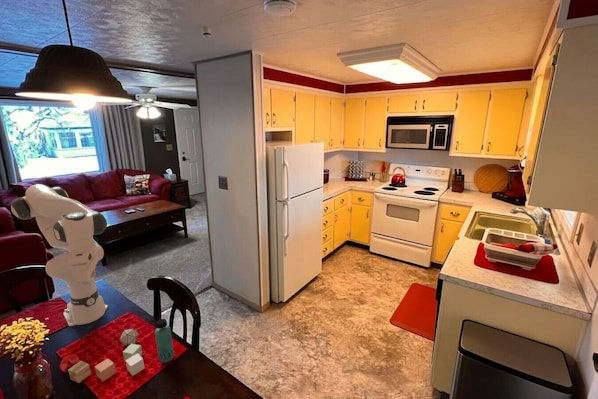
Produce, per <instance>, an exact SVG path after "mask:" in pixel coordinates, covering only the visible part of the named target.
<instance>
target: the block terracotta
mask: <svg viewBox="0 0 598 399" xmlns="http://www.w3.org/2000/svg"><path fill="white" fill-rule="evenodd" d="M94 369H95V375H96V376H97V377H98V379H99V380H101V381H102V382H104V381H106V380H107V379H109V378H110V377H112V376H114V375H115V374H116V373H117V372H116V367H115V363H114V362H113V361H112V360H110V359H109V358H105V359H104V360H103V361H101V362H100V363H97V365H95V366H94Z"/></svg>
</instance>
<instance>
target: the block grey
mask: <svg viewBox="0 0 598 399" xmlns="http://www.w3.org/2000/svg"><path fill="white" fill-rule="evenodd" d="M125 364H126V370H127V371H128V372H129V374H130V375H131V377H133V376H134V375H137V374H138V373H140V372H141V371H143V370H144V369H146V368H145V363H144V359H143V357H142V355H141V356H140V355H139V354H138V353H137V354H136V355H134V356H132V357H130V358H129V359H127V360H126V361H125Z"/></svg>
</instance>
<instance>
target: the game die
mask: <svg viewBox="0 0 598 399" xmlns="http://www.w3.org/2000/svg"><path fill="white" fill-rule="evenodd" d="M135 327H136V326H134V327H133V328H129V329H123V328H122V333H121V335H120V338H119V339H118V340H117V342H121V344H122V345H123V348H125V347H126V346H127V347H128V346H129V345H130V344H136V343H137V339H138V337H139V335H141V332H138V331H137V330H136V329H135ZM136 345H137V344H136Z"/></svg>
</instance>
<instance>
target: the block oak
mask: <svg viewBox="0 0 598 399" xmlns="http://www.w3.org/2000/svg"><path fill="white" fill-rule="evenodd" d="M67 370H68V374H69V378H70V380H71V381H73V382H76V383H77V384H80V383H81V382H82V381H84V380H85V379H87V377H89V376H90V375H91V374H92V371H91V367H90V364H89V363H87V362H86V361H83V360H80V362H78V363H76V364H73V365H72V367H71V366H70V367H69V368H68V369H67Z"/></svg>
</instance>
